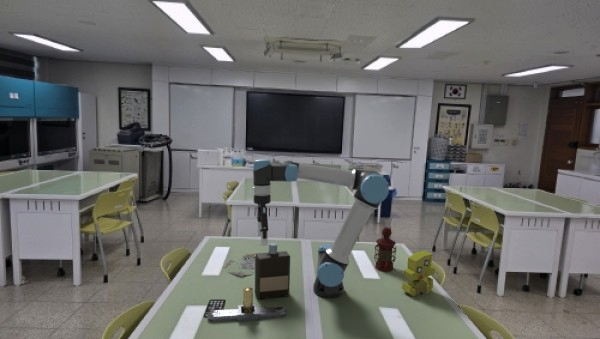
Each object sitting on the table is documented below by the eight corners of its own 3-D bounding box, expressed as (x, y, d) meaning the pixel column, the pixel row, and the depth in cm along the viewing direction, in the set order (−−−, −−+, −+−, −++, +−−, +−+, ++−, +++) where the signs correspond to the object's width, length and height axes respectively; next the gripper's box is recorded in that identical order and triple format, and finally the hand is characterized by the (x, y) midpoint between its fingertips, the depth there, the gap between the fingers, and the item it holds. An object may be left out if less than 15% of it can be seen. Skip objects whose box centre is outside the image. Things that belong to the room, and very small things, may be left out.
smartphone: (202, 317, 153) (209, 299, 168) (202, 318, 153) (209, 300, 168) (220, 317, 154) (226, 299, 169) (220, 318, 154) (226, 300, 169)
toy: (409, 297, 177) (412, 257, 174) (401, 292, 182) (403, 253, 179) (433, 292, 183) (437, 253, 181) (425, 287, 188) (428, 249, 186)
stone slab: (286, 264, 214) (286, 261, 214) (239, 279, 191) (239, 277, 191) (258, 251, 233) (258, 249, 233) (212, 264, 210) (212, 262, 210)
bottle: (254, 292, 177) (254, 242, 173) (286, 289, 181) (287, 240, 178) (256, 300, 169) (257, 248, 166) (290, 296, 174) (291, 245, 170)
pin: (252, 313, 158) (252, 286, 156) (252, 318, 154) (253, 291, 152) (242, 313, 157) (243, 287, 156) (243, 318, 153) (243, 291, 152)
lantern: (386, 274, 203) (390, 221, 199) (369, 267, 212) (372, 216, 208) (399, 269, 211) (403, 218, 207) (381, 262, 220) (385, 213, 216)
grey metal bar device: (285, 308, 162) (285, 302, 162) (287, 318, 155) (287, 311, 154) (208, 313, 157) (208, 306, 156) (207, 323, 149) (207, 316, 148)
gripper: (251, 189, 174) (251, 232, 177) (256, 200, 150) (257, 250, 153) (266, 188, 176) (267, 231, 179) (274, 199, 152) (275, 249, 155)
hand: (262, 240), depth 166 cm, fingers open, 13 cm apart
